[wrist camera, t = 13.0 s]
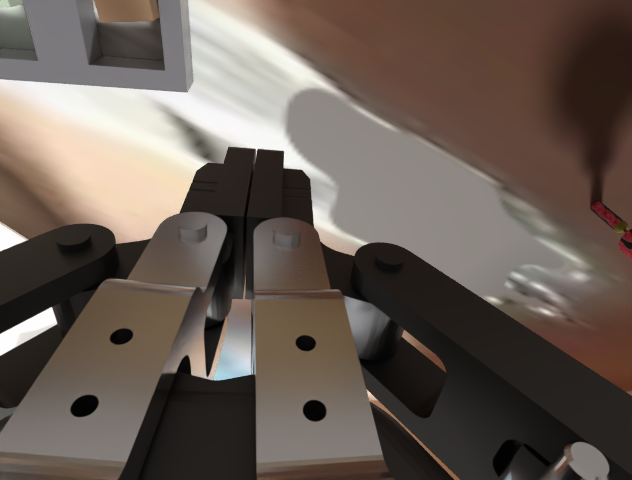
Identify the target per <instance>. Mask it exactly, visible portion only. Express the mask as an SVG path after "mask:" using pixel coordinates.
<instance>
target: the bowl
mask: <svg viewBox="0 0 632 480" xmlns="http://www.w3.org/2000/svg"><path fill="white" fill-rule="evenodd" d="M27 240H29V239H27V238H25V237H24V236H22V235H21V234H19V233H18V232H16V231H14V230H13V229H11V228H10V227H8V226H6V225H5V224H3V223H2V222H0V251H2V250H4V249H7V248H9V247H12V246H14V245H17V244H19V243H22V242H24V241H27ZM55 325H57V321H56V318H55V315H54V312H53V309H52V307H51V308H49V309H47V310H45V311H43V312H41V313H40V314H38V315H36V316H34V317H32V318H30V319H28V320H26V321H24V322H22V323H20V324H18V325H17V326H15V327H13V328H11V329H9V330H7V331H5V332H3V333H1V334H0V356H1V355H2V354H4V353H6V352H8V351H10V350H11V349H13V348H15V347H17V346H19V345H20V344H22V343H24V342H26V341H28V340H29V339H31V338H33V337H35V336H37V335H38V334H40V333H42V332H44V331H46V330H48V329H49V328H51V327H53V326H55Z"/></svg>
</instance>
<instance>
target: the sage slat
mask: <svg viewBox="0 0 632 480" xmlns="http://www.w3.org/2000/svg"><path fill="white" fill-rule="evenodd" d="M20 4H23V1H22V0H0V7H12V6H16V5H20Z"/></svg>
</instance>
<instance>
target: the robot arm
mask: <svg viewBox="0 0 632 480" xmlns="http://www.w3.org/2000/svg"><path fill="white" fill-rule="evenodd" d="M283 163H284V151H277V150H264V149H258V150H257V156H256V149H251V148H239V147H228V150H227V154H226V157H225V160H224V164H218V163H207V164H206V165H204V166H203V167H201V168H200V169H199V170H197V171H196V174H195V176H194V179H193V183H192V184H191V186H190V189H189V191H188V193H187V196H186V198H185V201H184V203H183V206H182V208H181V211H180V213H179V214H176V215H173V216H171V217H169V218H167V219H166V220H164V221H163V222H162V223H161V224H160V225H159V227H158V229H157V230H156V232H155V233H154V235H153V237H152V238H151V239H147V240H143V241H136V242H129V243H121V244H116V240H115V236H114V234H113V233H112V231H110V230H109V229H107V228H106V227H103V226H100V225H95V224H73V225H68V226H64V227H60V228H57V229H54V230H52V231H49V232H47V233H44V234H42V235H39V236H37V237H34V238H32V239H29V240H27V241H24V242H22V243H19V244H17V245H14V246H12V247H9V248H7V249H4V250H2V251H0V334H1V333H3V332H5V331H7V330H9V329H11V328H13V327H15V326H17V325H18V324H20V323H22V322H24V321H26V320H28V319H30V318H32V317H34V316H36V315H38V314H40V313H41V312H43V311H45V310H47V309H49V308H51V307H52V309H53V312H54V315H55V318H56V321H57V325H55V326H53V327H51V328H49V329H48V330H46V331H44V332H42V333H40V334H38V335H37V336H35V337H33V338H31V339H29V340H28V341H26V342H24V343H22V344H20V345H19V346H17V347H15V348H13V349H11V350H10V351H8V352H6V353H4V354H2V355H1V356H0V480H454V479H453V478H452V477H451V476H450V475H449V474H448V473H447V472H446V471H445V470H444V469H443V468H442V467H441V466H440V465H439V464H438V463H437V461H436V460H435V459H433V457H432V456H431V455H430V454H429V453H428V452H427V451H426V450H425V449H424V448H423V447H422V446H421V445H420V444H419V443H418V442H417V441H416V440H415V439H414V438H413V437H412V436H411V435H410V434H409V433H408V432H407V431H406V430H405V429H404V427H402V426H401V425H400V424H399V423H398V422H397V421H396V420H395V419H394V418H393V417H391V416H390V415H389V414H388V413H386V412H385V411H384V410H382V409H381V408H379V407H378V406H376V405H375V404H373V403H371V402H369V398H368V394H367V390H368V391H369V392H370V393H371V394H372V395H373V396H374V397H375V398H376V399H377V400H379V401H380V402H381V403H382V404H383V405H384V406H385V407H386V408H387V409H388V410H389V411H390V412H391V413H392V414H393V415H394V416H395V417H396V418H397V419H398V420H399V421H400V422H401V423H403V425H404V426H405V427H407V428H408V429H409V430H410V431H411V432H412V433H413V434H414V435H415V436H416V437H417V438H418V439H419V440H420V441H421V442H422V443H423V444H424V445H425V446H426V447H427V448H428V449H429V450H430V451H431V452H432V453H433V454H434V455H435V456H436V457H438V458H439V459H440V460H441V461H442V462H443V463H444V464H445V465H446V466H447V467H448V468H449V469H450V470H451V471H452V472H453V473H454V474H455V475H456V476H457V477H458V478H459V479H460V480H632V396H631V395H629V394H628V393H626V392H625V391H623V390H622V389H620V388H619V387H617V386H616V385H614V384H613V383H611V382H609V381H608V380H606V379H605V378H603V377H602V376H600V375H599V374H597V373H596V372H594V371H593V370H591V369H590V368H588V367H586V366H585V365H583V364H582V363H580V362H579V361H577V360H576V359H574V358H573V357H571V356H570V355H568V354H567V353H565V352H563V351H562V350H560V349H559V348H557V347H556V346H554V345H553V344H551V343H550V342H548V341H547V340H545V339H544V338H542V337H540V336H539V335H537V334H536V333H534V332H533V331H531V330H530V329H528V328H527V327H525V326H524V325H522V324H520V323H519V322H517V321H516V320H514V319H513V318H511V317H510V316H508V315H507V314H505V313H504V312H502V311H501V310H499V309H497V308H496V307H494V306H493V305H491V304H490V303H488V302H487V301H485V300H484V299H482V298H481V297H479V296H478V295H476V294H474V293H473V292H471V291H470V290H468V289H467V288H465V287H464V286H462V285H461V284H459V283H458V282H456V281H455V280H453V279H451V278H450V277H448V276H447V275H445V274H444V273H442V272H441V271H439V270H438V269H436V268H434V267H433V266H431V265H430V264H428V263H427V262H425V261H424V260H422V259H421V258H419V257H418V256H416V255H414V254H413V253H411V252H410V251H408V250H407V249H405V248H402V247H400V246H397V245H394V244H389V243H370V244H366V245H364V246H362V247H360V248H359V249H358V250H357V252H356V253H355V256H352V255H348V254H344V253H341V252H338V251H335V250H333V249H331V248H329V247H327V246H325V245H324V244H323V243H321V242H320V239H319V235H318V232H317V231H316V229H315V228H314V224H313V211H312V200H311V185H310V179H309V177H308V176H307V175H306V174H305V173H304V172H303V171H302V170H297V169H284V168H283ZM245 277H246V295H245V299H252V308H251V310H252V311H251V375H248V376H242V377H237V378H232V379H227V380H220V381H214V380H213V379H214V376H215V372H216V368H217V364H218V361H219V357H220V353H221V350H222V346H223V342H224V338H225V335H226V331H227V327H228V314H229V312H230V309H231V303H232V299H243V292H244V285H245ZM404 330H406V331H407V332H408V333H409V334H411V335H412V336H413V337H414V338H416V339H417V340H418V341H419V342H421V343H422V344H423V345H424V346H426V347H427V348H428V349H429V350H431V351H432V352H433V353H434V354H436V355H437V356H438V357H439V358H440V360H441V361H442V362H443V364H444V366H445V369H446V372H447V373H446V372H444V371H443V370H442V369H441V368H439V367H438V366H437V365H436V364H435V363H433V362H432V361H431V360H430V359H428V358H427V357H426V356H425V355H423V354H422V353H421V352H420V351H419V350H417V349H416V348H415V347H414V346H412V345H411V344H410V343H409V342H407V341H406V340H405V339H404V338H403V337H402V334H403V331H404ZM366 389H367V390H366Z"/></svg>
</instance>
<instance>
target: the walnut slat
mask: <svg viewBox="0 0 632 480" xmlns="http://www.w3.org/2000/svg"><path fill="white" fill-rule="evenodd" d="M94 1H95V4H96V8H97V12H98V15H99V19H100V22H101V23H107V22H137V21H154V20H156V19H157V18H159V17H160V15H159V6H158V0H94Z"/></svg>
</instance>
